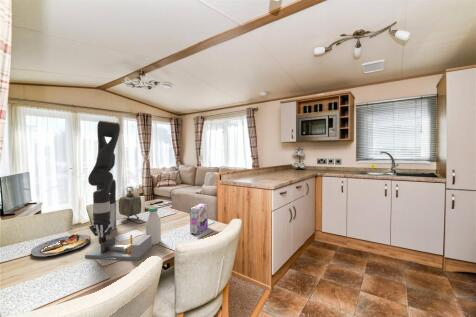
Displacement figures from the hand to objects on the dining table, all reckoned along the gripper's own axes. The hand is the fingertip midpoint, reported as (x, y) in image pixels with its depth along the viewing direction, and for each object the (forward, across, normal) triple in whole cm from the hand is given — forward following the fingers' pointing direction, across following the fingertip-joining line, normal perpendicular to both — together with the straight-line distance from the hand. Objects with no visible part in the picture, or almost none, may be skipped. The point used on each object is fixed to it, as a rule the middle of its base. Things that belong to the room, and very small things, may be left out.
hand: (102, 243), depth 109 cm
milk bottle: (+5, -20, -14) cm, 25 cm away
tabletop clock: (+5, +18, -50) cm, 53 cm away
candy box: (+5, -41, -34) cm, 54 cm away
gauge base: (+4, -9, 0) cm, 10 cm away
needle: (+3, -16, 0) cm, 16 cm away
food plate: (+5, +26, -3) cm, 26 cm away
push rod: (+3, -8, 0) cm, 9 cm away
